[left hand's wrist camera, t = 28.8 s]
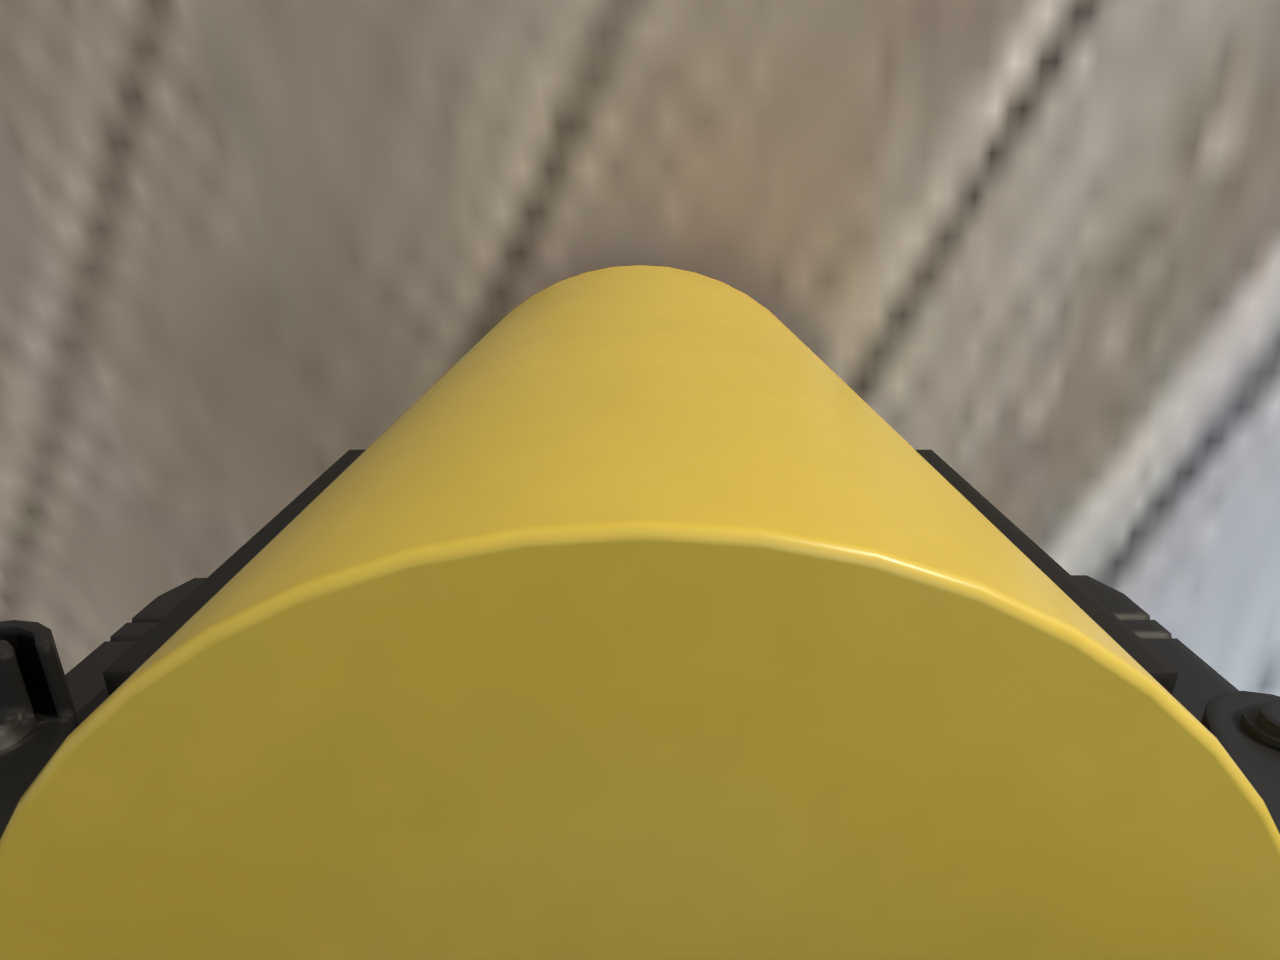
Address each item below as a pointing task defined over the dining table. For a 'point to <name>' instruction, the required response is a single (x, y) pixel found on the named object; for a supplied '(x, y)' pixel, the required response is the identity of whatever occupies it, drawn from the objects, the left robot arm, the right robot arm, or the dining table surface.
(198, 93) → the dining table surface
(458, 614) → the cylinder
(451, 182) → the dining table surface
